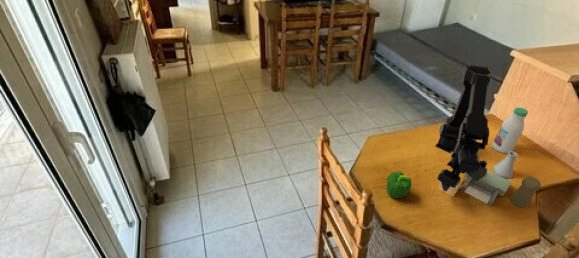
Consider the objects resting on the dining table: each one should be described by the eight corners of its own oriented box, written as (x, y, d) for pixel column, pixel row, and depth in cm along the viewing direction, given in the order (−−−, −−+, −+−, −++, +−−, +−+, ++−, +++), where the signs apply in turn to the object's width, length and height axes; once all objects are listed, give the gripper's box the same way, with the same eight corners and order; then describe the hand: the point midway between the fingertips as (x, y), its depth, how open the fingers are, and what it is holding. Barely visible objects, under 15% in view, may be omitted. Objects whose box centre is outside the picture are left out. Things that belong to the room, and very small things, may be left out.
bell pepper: (379, 191, 117) (384, 172, 111) (393, 182, 121) (398, 163, 115) (397, 206, 112) (403, 186, 106) (411, 195, 116) (418, 176, 110)
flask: (515, 180, 122) (527, 161, 116) (495, 177, 123) (506, 158, 117) (509, 167, 128) (520, 148, 122) (489, 165, 129) (499, 146, 123)
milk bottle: (512, 146, 138) (533, 108, 126) (511, 156, 133) (532, 117, 121) (492, 140, 142) (511, 103, 130) (490, 150, 136) (510, 111, 124)
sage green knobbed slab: (464, 177, 123) (467, 170, 121) (470, 168, 127) (473, 161, 125) (503, 196, 115) (506, 189, 113) (508, 186, 119) (512, 179, 117)
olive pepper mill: (506, 195, 116) (519, 174, 109) (521, 194, 116) (535, 173, 109) (517, 208, 111) (531, 187, 104) (533, 207, 111) (548, 186, 105)
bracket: (460, 190, 118) (462, 185, 116) (468, 179, 122) (470, 174, 121) (490, 206, 112) (493, 201, 110) (497, 193, 116) (500, 189, 115)
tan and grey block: (437, 188, 119) (441, 177, 115) (442, 181, 121) (446, 171, 118) (453, 196, 115) (458, 186, 112) (458, 190, 118) (463, 179, 115)
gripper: (478, 178, 98) (462, 210, 107) (498, 150, 108) (481, 182, 118) (443, 161, 104) (430, 193, 113) (465, 136, 115) (451, 167, 124)
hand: (449, 184), depth 117 cm, fingers open, 9 cm apart
